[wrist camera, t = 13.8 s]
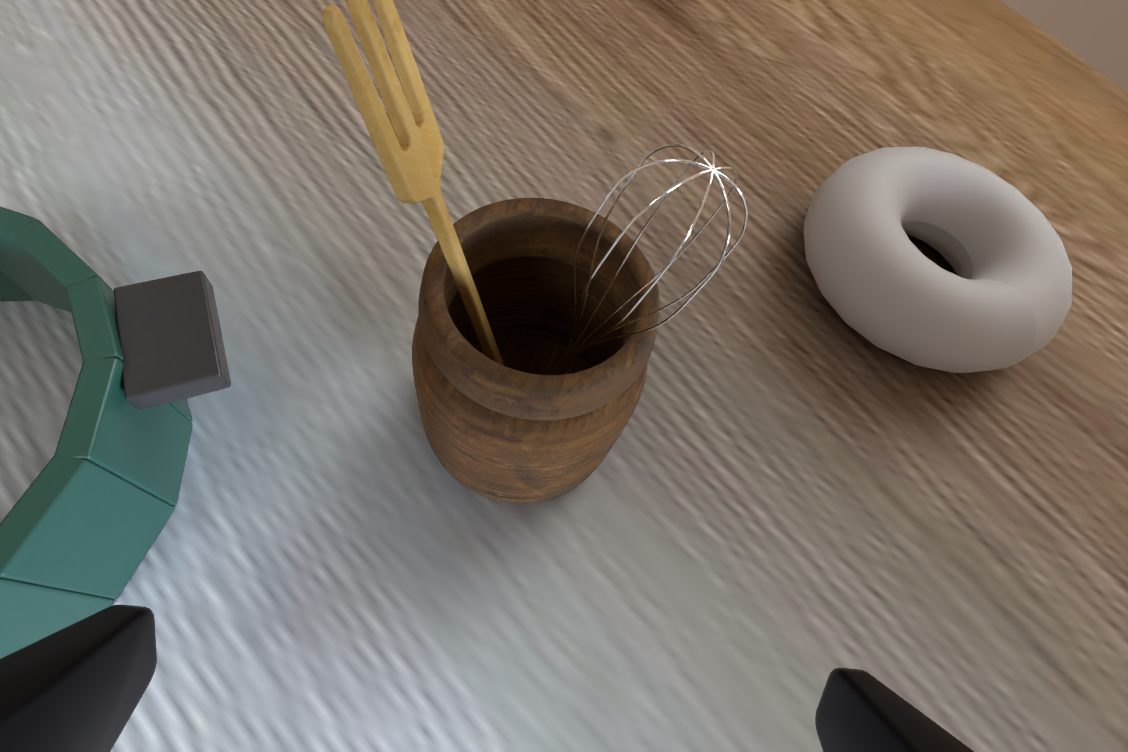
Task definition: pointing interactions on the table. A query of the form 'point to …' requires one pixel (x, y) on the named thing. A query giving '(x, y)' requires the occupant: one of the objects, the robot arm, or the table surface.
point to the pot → (102, 431)
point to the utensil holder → (513, 297)
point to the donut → (919, 286)
